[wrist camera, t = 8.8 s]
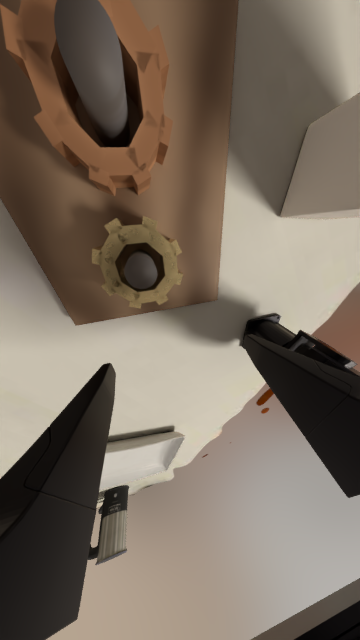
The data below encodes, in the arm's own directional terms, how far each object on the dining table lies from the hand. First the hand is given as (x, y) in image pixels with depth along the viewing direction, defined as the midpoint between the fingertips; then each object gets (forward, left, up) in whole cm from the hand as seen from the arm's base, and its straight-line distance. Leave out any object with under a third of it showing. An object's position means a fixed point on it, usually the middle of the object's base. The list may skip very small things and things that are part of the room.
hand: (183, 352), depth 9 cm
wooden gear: (+2, -4, -10) cm, 11 cm away
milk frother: (+33, +84, -12) cm, 91 cm away
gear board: (+2, -9, -11) cm, 14 cm away
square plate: (+17, +49, -12) cm, 53 cm away
